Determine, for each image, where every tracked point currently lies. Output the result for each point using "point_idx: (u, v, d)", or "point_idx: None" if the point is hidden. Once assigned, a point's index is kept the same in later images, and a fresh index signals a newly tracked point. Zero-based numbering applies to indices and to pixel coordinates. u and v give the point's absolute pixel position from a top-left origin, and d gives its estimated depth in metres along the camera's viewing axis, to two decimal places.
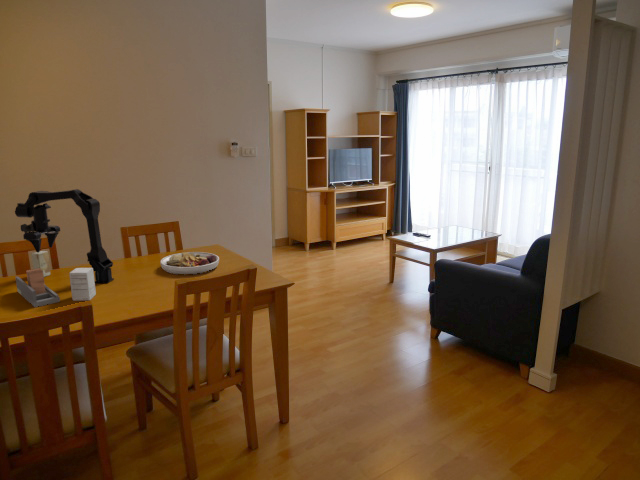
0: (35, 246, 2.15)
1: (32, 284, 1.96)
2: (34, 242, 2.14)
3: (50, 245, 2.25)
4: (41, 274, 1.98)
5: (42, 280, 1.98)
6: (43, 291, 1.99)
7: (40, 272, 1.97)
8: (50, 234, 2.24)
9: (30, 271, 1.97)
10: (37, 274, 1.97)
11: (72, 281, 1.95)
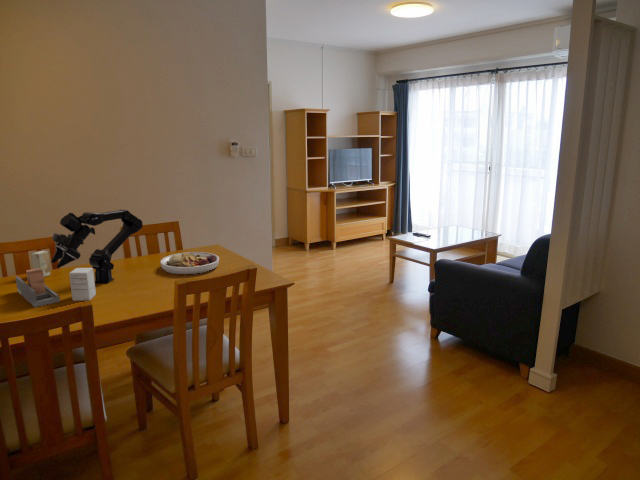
0: (62, 261, 2.00)
1: (32, 284, 1.96)
2: (65, 258, 2.00)
3: (54, 260, 2.07)
4: (41, 274, 1.98)
5: (42, 280, 1.98)
6: (43, 291, 1.99)
7: (40, 272, 1.97)
8: (62, 251, 2.09)
9: (30, 271, 1.97)
10: (37, 274, 1.97)
11: (72, 282, 1.95)
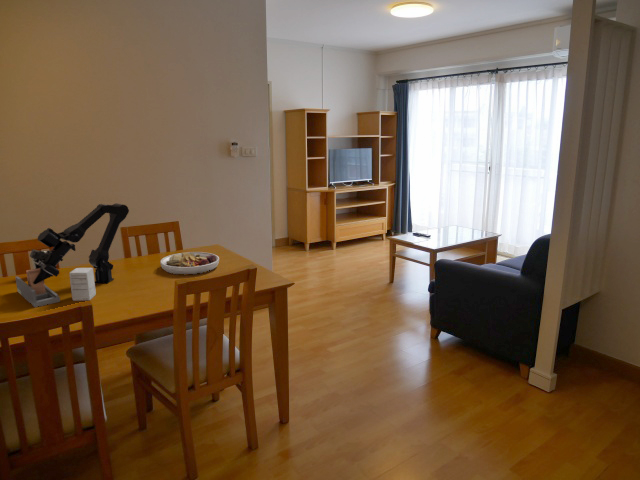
0: (39, 278, 1.96)
1: (32, 284, 1.96)
2: (42, 274, 1.97)
3: None
4: None
5: None
6: (43, 291, 1.99)
7: None
8: (41, 268, 2.02)
9: (30, 271, 1.97)
10: (37, 274, 1.97)
11: (72, 282, 1.95)
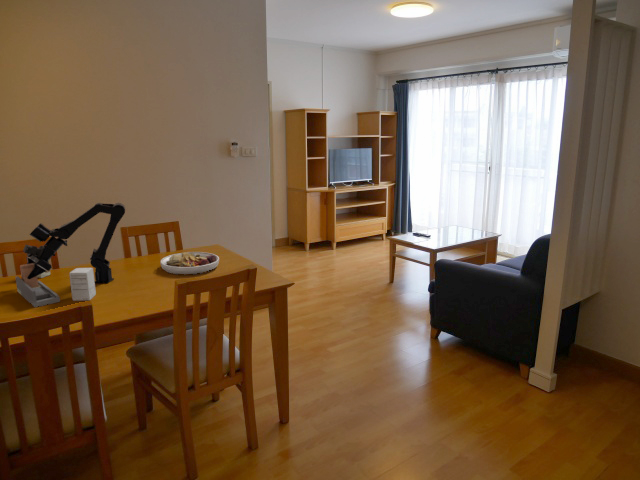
0: (33, 273, 2.02)
1: (25, 278, 2.03)
2: (36, 269, 2.02)
3: None
4: None
5: None
6: (36, 285, 2.06)
7: (33, 267, 2.04)
8: (33, 262, 2.11)
9: (23, 266, 2.04)
10: (30, 269, 2.04)
11: (72, 282, 1.95)
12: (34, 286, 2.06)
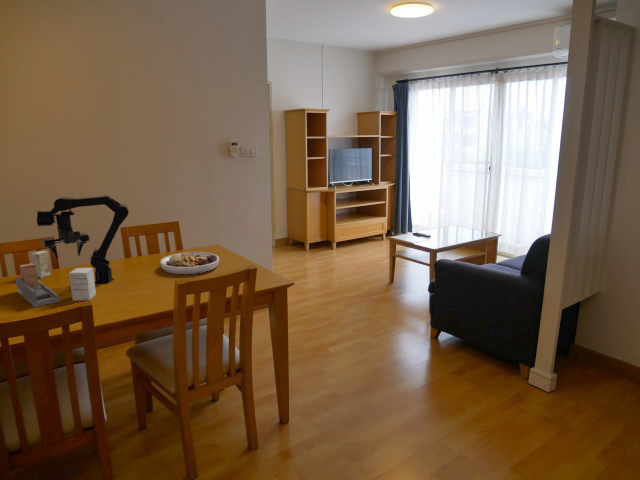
0: None
1: (25, 278, 2.03)
2: None
3: None
4: (34, 269, 2.05)
5: (35, 275, 2.05)
6: (36, 285, 2.06)
7: (33, 267, 2.04)
8: None
9: (23, 266, 2.04)
10: (30, 269, 2.04)
11: (72, 282, 1.95)
12: (34, 286, 2.06)
